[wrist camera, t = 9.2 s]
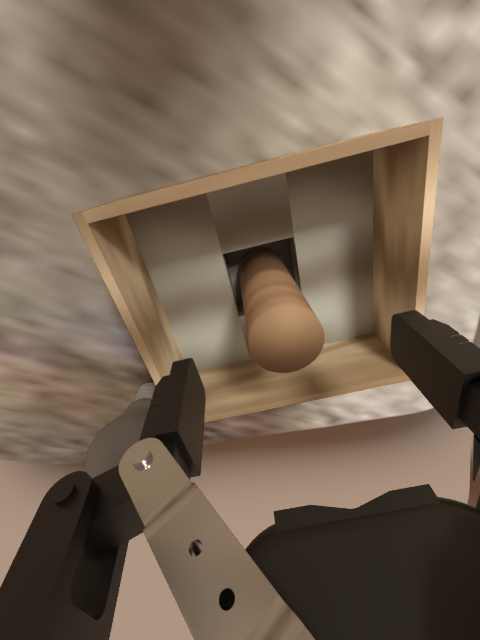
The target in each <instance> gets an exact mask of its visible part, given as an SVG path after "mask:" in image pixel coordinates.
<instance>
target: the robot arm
mask: <svg viewBox="0 0 480 640" xmlns="http://www.w3.org/2000/svg"><path fill="white" fill-rule="evenodd" d="M390 350H391V354H392V357H393V359H394V360H395V362H396V363H397V364H398V366H399V367H400V368H401V369H402V370H403V371H404V373H405V374H406V375H407V376H408V377H409V378H410V380H411V381H412V382H413V383H414V384H415V386H416V387H417V388H418V389H419V390H420V391H421V393H422V394H423V395H424V396H425V397H426V399H427V400H428V401H429V402H430V403H431V404H432V406H433V407H434V408H435V409H436V410H437V411H438V413H439V414H440V415H441V416H442V417H443V419H444V420H445V421H446V422H447V423H448V424H449V426H450V427H451V428H452V429H456V428H462V427H467V426H468V428H469V429H470V430H471V431H472V435H471V452H470V490H469V498H468V503H467V504H465V503H462V502H458V501H455V500H451V499H446V498H441V497H437V496H436V494H435V493H434V491H433V490H432V488H431V487H430V485H429V484H427V485H421V486H415V487H409V488H404V489H398V490H392V491H389V492H387V493H385V494H383V495H381V496H379V497H377V498H375V499H373V500H371V501H369V502H368V503H366V504H364V505H362V506H360V507H358V508H355V509H346V508H336V507H326V506H316V505H307V506H302V507H296V508H290V509H284V510H279V511H274V517H275V524H274V525H272V526H270V527H268V528H267V529H266V530H264V531H263V532H261V533H260V534H259V535H258V536H257V537H256V538H255V539H254V540H253V541H252V542H251V543H250V544H249V546H248V547H247V548H246V550H245V549H244V548H243V546H242V545H241V544H240V542H239V541H238V540H237V538H236V537H235V536H234V534H233V533H232V532H231V530H230V529H229V528H228V526H227V525H226V524H225V522H224V521H223V520H222V518H221V517H220V516H219V515H218V513H217V512H216V511H215V509H214V508H213V507H212V505H211V504H210V503H209V501H208V500H207V499H206V497H205V496H204V495H203V493H202V492H201V491H200V490H199V488H198V487H197V486H196V484H195V483H192V482H191V481H190V477H195V476H200V473H201V459H202V445H203V431H204V417H205V404H206V395H205V389H204V386H203V383H202V380H201V378H200V375H199V373H198V370H197V367H196V365H195V362H194V360H193V359H192V358H187V359H183V360H178V361H174V362H173V363H172V367H171V371H170V375H167V376H163V377H162V378H161V380H160V381H159V382H158V384H157V385H156V386H155V389H154V392H153V396H152V399H151V402H150V408H149V409H148V413H147V416H146V419H145V423H144V426H143V429H142V433H141V436H140V439H139V441H138V442H137V443H135V444H134V445H132V446H131V447H130V448H129V449H128V450H127V451H126V452H125V454H124V455H123V457H122V458H121V461H120V464H119V465H118V466H116V467H114V468H112V469H110V470H108V471H106V472H104V473H102V474H100V475H98V476H96V477H94V478H91V477H90V476H89V474H88V473H86V472H84V471H77V472H73V473H70V474H68V475H66V476H65V477H63V478H62V479H60V480H59V481H58V482H56V483H55V484H54V485H53V486H52V487H51V488H50V490H49V491H48V492H47V493H46V495H45V496H44V498H43V500H42V502H41V504H40V506H39V508H38V510H37V512H36V514H35V517H34V519H33V521H32V523H31V525H30V527H29V529H28V531H27V533H26V535H25V538H24V539H23V541H22V544H21V546H20V548H19V550H18V552H17V554H16V556H15V558H14V560H13V562H12V564H11V566H10V569H9V571H8V573H7V575H6V577H5V579H4V581H3V583H2V586H1V587H0V640H109V637H110V632H111V627H112V622H113V617H114V612H115V607H116V602H117V597H118V592H119V587H120V582H121V577H122V572H123V566H124V562H125V557H126V552H127V546H128V542H129V540H130V539H132V538H134V537H135V536H137V535H139V534H141V533H143V532H144V534H145V536H146V538H147V541H148V543H149V545H150V547H151V549H152V551H153V553H154V556H155V558H156V560H157V562H158V564H159V566H160V568H161V571H162V573H163V575H164V577H165V579H166V581H167V583H168V585H169V588H170V590H171V591H172V594H173V596H174V598H175V600H176V602H177V604H178V606H179V609H180V611H181V613H182V615H183V617H184V619H185V621H186V623H187V626H188V628H189V630H190V632H191V634H192V636H193V638H194V640H480V348H478V347H477V346H476V345H474V344H473V343H472V342H469V340H468V339H466V338H465V337H464V336H462V335H460V334H459V333H458V332H457V331H455V330H454V329H453V328H451V327H450V326H449V325H447V324H444V323H441V322H439V321H436V320H434V319H432V320H428V319H427V318H426V317H425V316H423V315H422V314H421V313H420V312H418V311H417V310H411V311H407V312H402V313H398V314H394V315H393V316H392V319H391V338H390Z"/></svg>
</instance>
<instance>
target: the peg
mask: <svg viewBox="0 0 480 640" xmlns="http://www.w3.org/2000/svg"><path fill="white" fill-rule="evenodd" d="M239 279H240V286H241V294H242V301H243V308H244V315H245V322H246V329H247V336H248V343H249V350H250V353H251V356H252V358H253V359H254V361H255V362H256V363H257V364H258V365H259V366H261V367H262V368H264V369H266V370H268V371H271V372H276V373H289V372H294V371H298V370H300V369H302V368H304V367H306V366H308V365H309V364H311V363H312V362H313V361H314V360H315V359H316V358H317V357H318V356H319V354H320V352H321V351H322V348H323V346H324V341H325V334H324V329H323V327H322V325H321V323H320V321H319V320H318V318H317V316H316V315H315V313H314V312H313V310H312V308H311V307H310V305H309V304H308V302H307V300H306V299H305V297H304V295H303V294H302V292H301V291H300V289H299V287H298V286H297V284H296V282H295V281H294V279H293V278H292V276H291V274H290V273H289V271H288V269H287V268H286V266H285V265H284V263H283V261H282V260H281V258H280V257H279V255H278V254H277V253H275V252H274V251H272V250H270V249H267V248H257V249H254V250H251V251H250V252H248V253H247V254H246V255H245V256H244V257H243V258H242V260H241V262H240V264H239Z"/></svg>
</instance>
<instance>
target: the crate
mask: <svg viewBox="0 0 480 640" xmlns="http://www.w3.org/2000/svg"><path fill="white" fill-rule="evenodd" d="M442 125H443V118H439V119H434V120H430V121H425V122H420V123H416V124H411V125H407V126H402V127H398V128H393V129H388V130H384V131H379V132H375V133H370V134H366V135H362V136H358V137H354V138H351V139H347V140H343V141H339V142H335V143H331V144H328V145H324V146H320V147H316V148H312V149H309V150H305V151H301V152H297V153H293V154H290V155H286V156H282V157H278V158H274V159H270V160H267V161H263V162H259V163H255V164H251V165H248V166H244V167H240V168H236V169H232V170H229V171H225V172H221V173H217V174H213V175H209V176H206V177H202V178H198V179H194V180H190V181H187V182H183V183H179V184H175V185H171V186H168V187H164V188H160V189H156V190H152V191H148V192H145V193H141V194H137V195H133V196H129V197H126V198H122V199H119V200H116V201H112V202H109V203H106V204H103V205H100V206H97V207H94V208H91V209H88V210H85V211H82V212H78V213H75V214H72V217H73V219H74V221H75V223H76V225H77V227H78V229H79V231H80V233H81V235H82V237H83V239H84V241H85V243H86V245H87V247H88V249H89V251H90V253H91V255H92V257H93V259H94V262H95V264H96V266H97V268H98V270H99V272H100V274H101V276H102V278H103V280H104V282H105V284H106V286H107V288H108V290H109V292H110V294H111V296H112V298H113V300H114V302H115V304H116V306H117V308H118V310H119V312H120V314H121V316H122V318H123V320H124V322H125V324H126V326H127V328H128V330H129V332H130V334H131V336H132V338H133V340H134V342H135V344H136V347H137V349H138V351H139V353H140V355H141V357H142V359H143V361H144V363H145V365H146V367H147V369H148V371H149V373H150V375H151V377H152V379H153V381H154V383H155V385H157V384H158V382H159V381H160V380H161V378H162V377H163V376H167V375H170V371H171V367H172V363H173V362H174V361H178V360H183V359H187V358H192V359H193V360H194V362H195V365H196V367H197V370H198V373H199V375H200V378H201V380H202V383H203V386H204V389H205V395H206V404H205V417H204V423H205V422H210V421H215V420H219V419H224V418H229V417H234V416H239V415H244V414H249V413H254V412H258V411H263V410H268V409H273V408H278V407H283V406H288V405H293V404H297V403H302V402H307V401H312V400H317V399H322V398H327V397H332V396H336V395H341V394H346V393H351V392H356V391H361V390H366V389H371V388H375V387H380V386H385V385H390V384H395V383H400V382H405V381H410V378H409V377H408V376H407V375H406V374H405V373H404V371H403V370H402V369H401V368H400V367H399V366H398V364H397V363H396V362H395V360H394V359H393V357H392V354H391V350H390V338H391V319H392V316H393V315H394V314H398V313H402V312H407V311H411V310H417V311H418V312H420V313H421V314H422V315H423V316H424V308H425V298H426V288H427V277H428V267H429V257H430V247H431V237H432V227H433V217H434V206H435V196H436V186H437V176H438V166H439V156H440V146H441V135H442ZM287 238H289V241H290V248H291V255H292V262H293V269H294V276H295V282H296V284H297V286H298V287H299V289H300V291H301V292H302V294H303V295H304V297H305V299H306V300H307V302H308V304H309V305H310V307H311V308H312V310H313V312H314V313H315V315H316V316H317V318H318V320H319V321H320V323H321V325H322V327H323V329H324V334H325V341H324V346H323V348H322V351H321V352H320V354H319V356H318V357H317V358H316V359H315V360H314V361H313V362H312V363H311V364H309V365H308V366H306V367H304V368H302V369H300V370H298V371H294V372H289V373H276V372H271V371H268V370H266V369H264V368H262V367H261V366H259V365H258V364H257V363H256V362H255V361H254V359H253V358H252V356H251V353H250V350H249V343H248V336H247V329H246V322H245V315H244V308H243V304H240V305H237V301H236V297H235V293H234V289H233V285H232V282H231V278H230V274H229V270H228V266H227V262H226V259H225V255H224V254H225V253H229V252H233V251H238V250H242V249H246V248H250V247H254V246H258V245H262V244H266V243H270V242H275V241H279V240H283V239H287Z"/></svg>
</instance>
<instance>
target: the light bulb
mask: <svg viewBox="0 0 480 640" xmlns="http://www.w3.org/2000/svg"><path fill="white" fill-rule="evenodd" d="M155 386H156V385H155V383H145V384H143V385H141V386H140V387H139V389H138V392H137V395H136V398H135V400H134V402H133V403H132V404H131V405H129V406H128V408H127V410H126V411H125V413H124V414H122V415H121V416H120V417H118V418H116V419H115V420H113V421H112V422H110V423H109V424H107V425H106V426H105V427H104V428H103V429H102V430H101V431H100V432H99V433H98V434H97V435H96V437H95V439H94V440H93V442H92V443H91V445H90V447H89V449H88V452H87V456H86V461H85V470H86V473H88V474H89V476H90V477H91V478H94V477H96V476H98V475H100V474H102V473H104V472H106V471H108V470H110V469H112V468H114V467H116V466H118V465H119V464H120V461H121V458H122V457H123V455H124V454H125V452H126V451H127V450H128V449H129V448H130V447H131V446H132V445H134V444H135V443H137V442H138V441H139V439H140V436H141V433H142V429H143V426H144V423H145V419H146V416H147V413H148V409H149V408H150V402H151V399H152V396H153V392H154V389H155Z"/></svg>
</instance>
